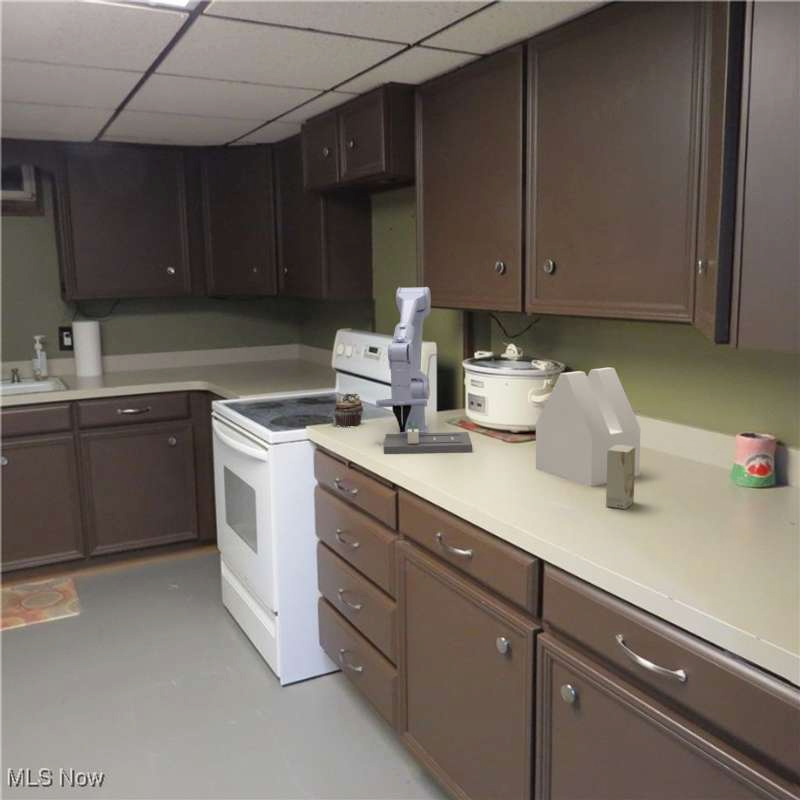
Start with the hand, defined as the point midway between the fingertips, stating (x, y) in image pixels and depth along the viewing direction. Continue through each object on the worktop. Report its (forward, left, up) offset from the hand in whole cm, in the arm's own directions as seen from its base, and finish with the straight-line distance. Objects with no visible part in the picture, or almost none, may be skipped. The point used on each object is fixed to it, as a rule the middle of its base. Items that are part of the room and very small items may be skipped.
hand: (402, 431), depth 222 cm
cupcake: (-27, -18, -4) cm, 33 cm away
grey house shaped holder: (+35, +45, -4) cm, 57 cm away
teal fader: (0, +3, -1) cm, 3 cm away
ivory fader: (+9, +3, -1) cm, 10 cm away
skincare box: (+60, +47, -4) cm, 76 cm away
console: (+5, +7, -3) cm, 9 cm away
